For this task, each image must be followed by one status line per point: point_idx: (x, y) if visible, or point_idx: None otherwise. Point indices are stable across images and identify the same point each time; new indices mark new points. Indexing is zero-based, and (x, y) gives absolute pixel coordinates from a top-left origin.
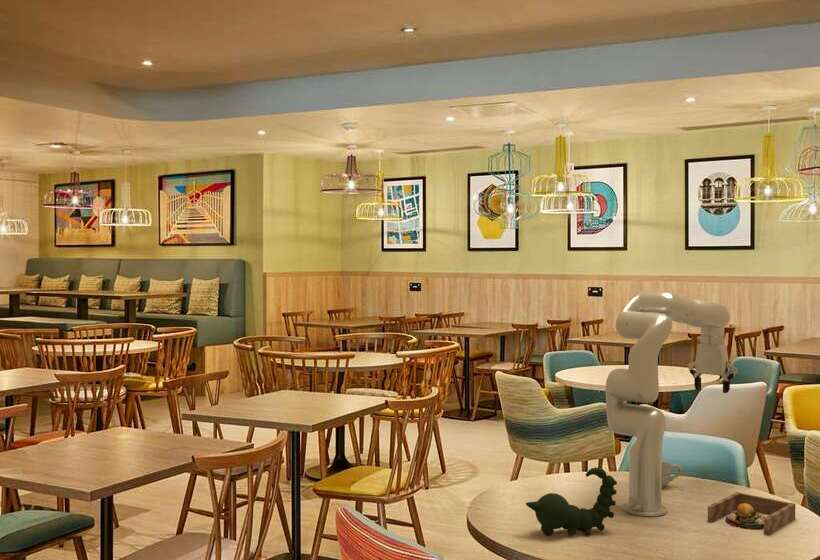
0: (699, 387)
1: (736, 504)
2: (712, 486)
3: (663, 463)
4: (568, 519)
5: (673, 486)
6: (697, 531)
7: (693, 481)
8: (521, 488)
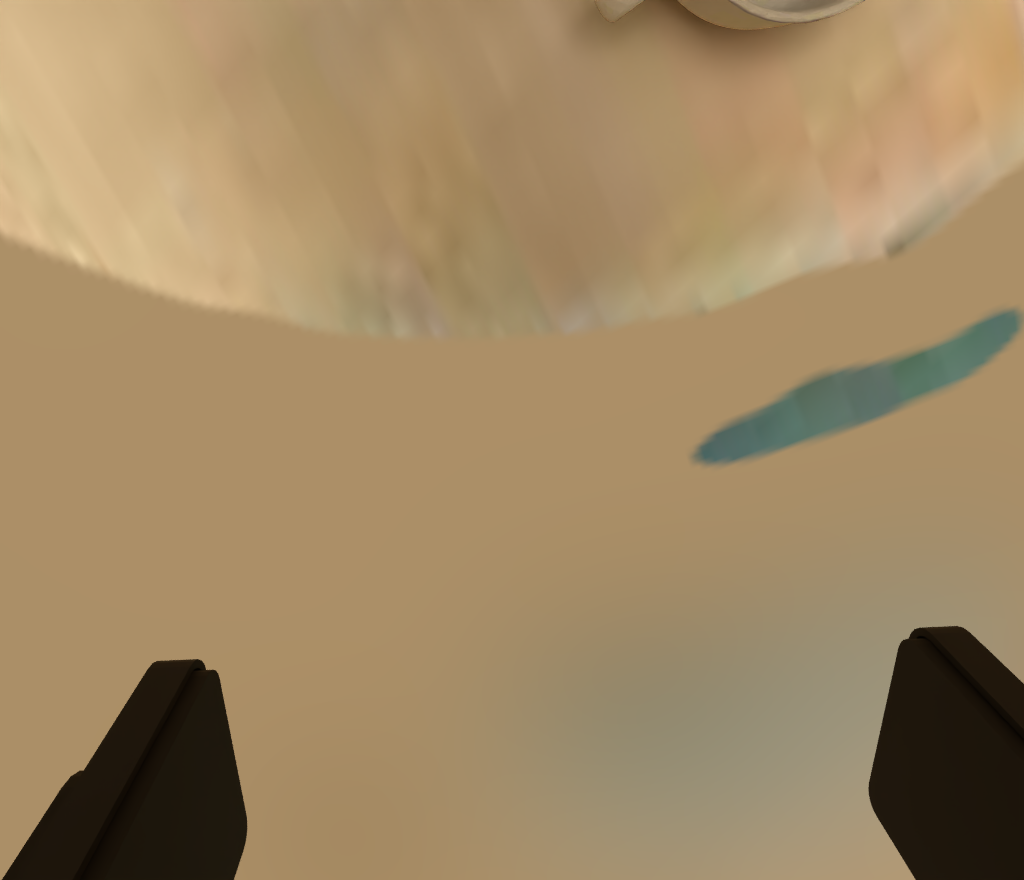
0: (904, 757)
1: None
2: (440, 212)
3: (771, 9)
4: None
5: None
6: None
7: (583, 240)
8: None
